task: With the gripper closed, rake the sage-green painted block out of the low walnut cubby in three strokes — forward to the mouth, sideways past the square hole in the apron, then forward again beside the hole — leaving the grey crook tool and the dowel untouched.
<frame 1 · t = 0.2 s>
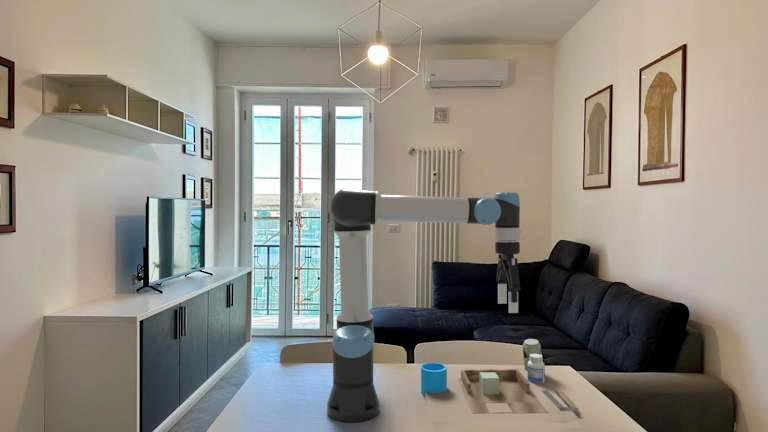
hand: (507, 307, 149), 27 cm above the table, fingers open, 13 cm apart
crook tool: (553, 405, 139), on the table
beverage can: (532, 374, 165), on the table
block: (489, 391, 146), point 1 cm above the table, touching cubby deck
cubby deck: (498, 398, 144), on the table
dowel: (567, 405, 140), on the table
mug: (434, 390, 151), on the table
pill bottle: (536, 385, 155), on the table
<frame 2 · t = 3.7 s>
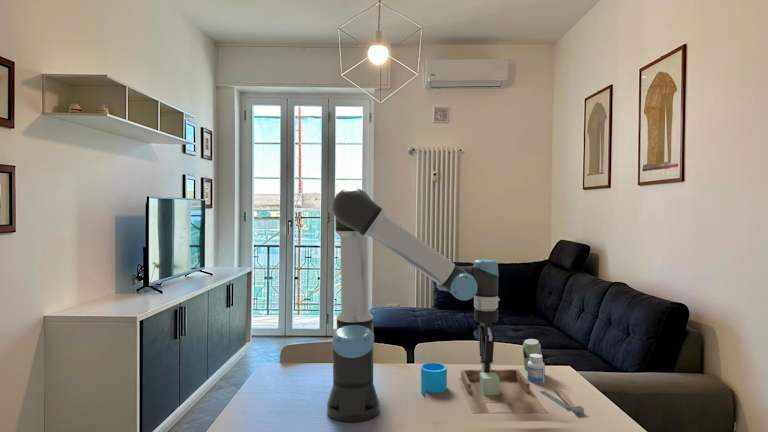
hand: (486, 381, 150), 3 cm above the table, fingers closed
block: (489, 391, 146), point 2 cm above the table, touching gripper
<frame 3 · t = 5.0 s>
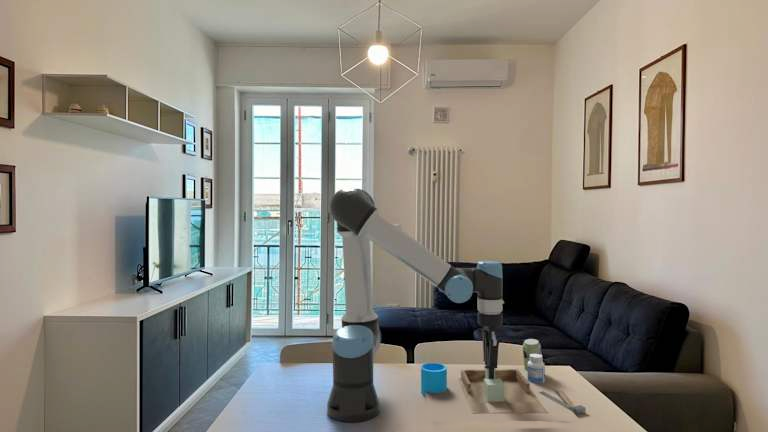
hand: (490, 387, 145), 3 cm above the table, fingers closed
block: (493, 398, 141), point 1 cm above the table, touching cubby deck, gripper
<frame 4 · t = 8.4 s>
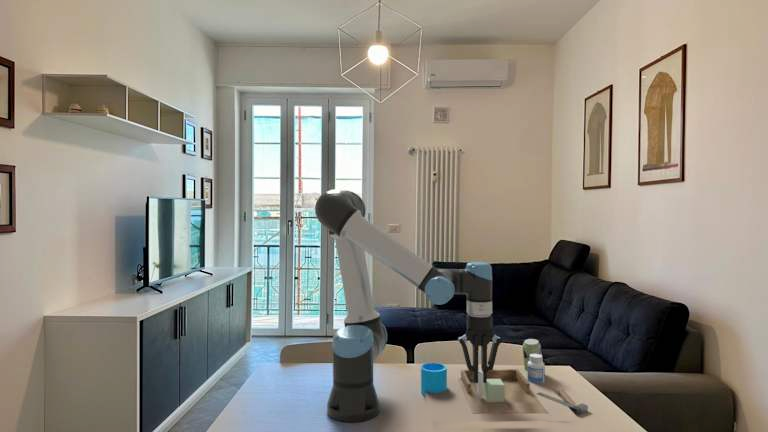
hand: (480, 392, 141), 3 cm above the table, fingers closed
block: (494, 398, 141), point 2 cm above the table, touching gripper
dowel: (567, 402, 142), on the table
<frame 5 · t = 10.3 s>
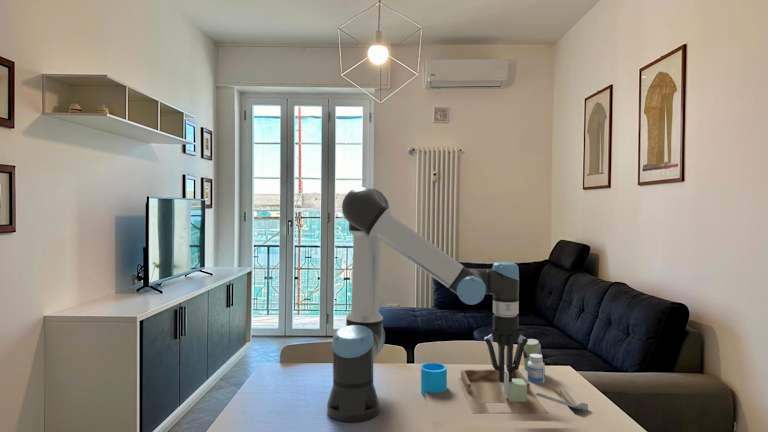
hand: (505, 392, 141), 3 cm above the table, fingers closed
block: (515, 398, 141), point 2 cm above the table, touching cubby deck, gripper
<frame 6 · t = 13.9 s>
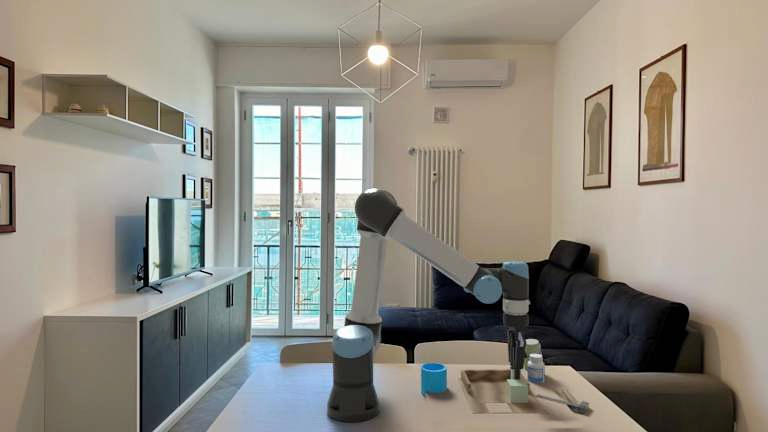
hand: (515, 388, 144), 3 cm above the table, fingers closed
block: (517, 399, 140), point 2 cm above the table, touching gripper
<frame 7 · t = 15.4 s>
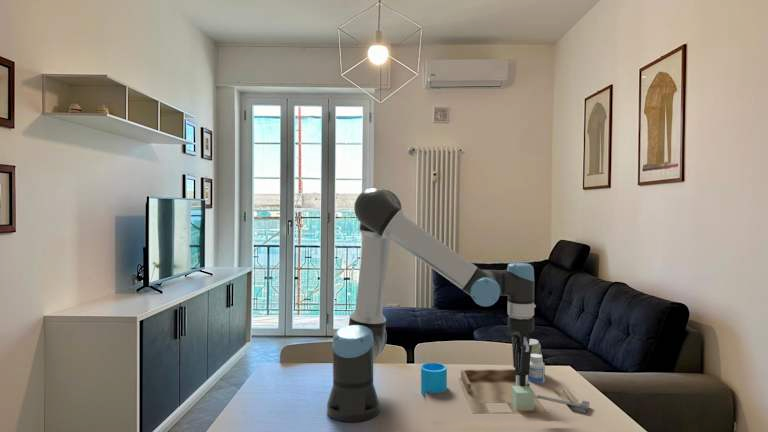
hand: (521, 395, 139), 3 cm above the table, fingers closed
block: (522, 406, 135), point 1 cm above the table, touching cubby deck, gripper
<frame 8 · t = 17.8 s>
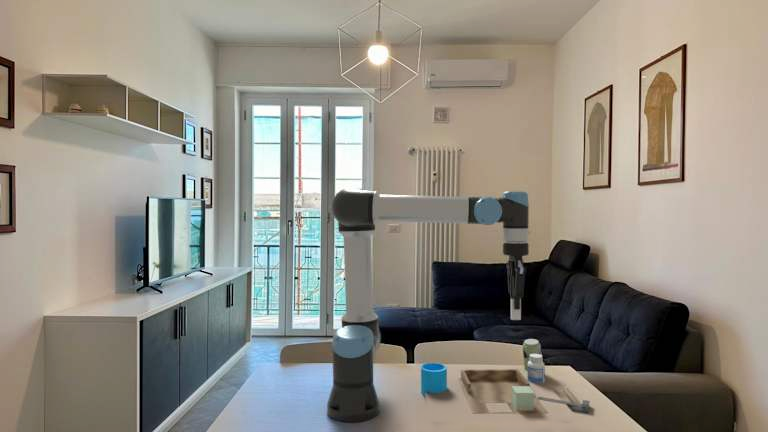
hand: (515, 319, 144), 24 cm above the table, fingers closed
block: (522, 406, 135), point 1 cm above the table, touching cubby deck
at the end: block inside the target area on the cubby deck (4.8 cm from its centre), point 1.5 cm above the cubby deck's base; block tilted 0° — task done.
